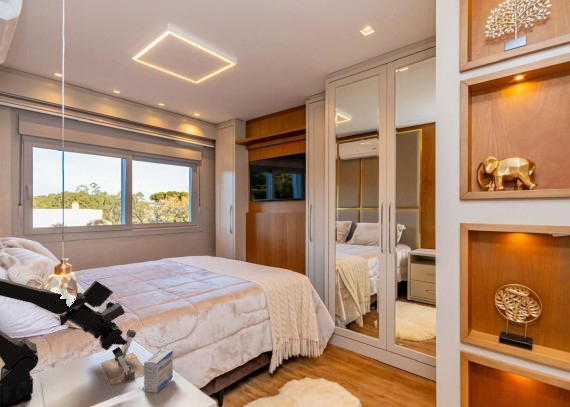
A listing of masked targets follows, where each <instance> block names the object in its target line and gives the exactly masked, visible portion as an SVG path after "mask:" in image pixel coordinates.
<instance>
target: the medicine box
mask: <svg viewBox="0 0 570 407" xmlns="http://www.w3.org/2000/svg"><path fill="white" fill-rule="evenodd" d="M173 355H174V354H173V350H168V349H160V350H158V351H157V352H156V353H155V354H153V355H152V356H151V357H150V358H148V359H147V360H146V361H144V362H143V366H144V376H143V392H148V393H156V394H158V393H159V392H160V391H161V390H162V389H163V388H164V387H165V386H166V385H167V384H168V383H169V382H170V381H171V380H173V370H174V368H173V364H174V362H173V360H174V359H173V358H174V357H173Z"/></svg>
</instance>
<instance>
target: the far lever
mask: <svg viewBox="0 0 570 407" xmlns="http://www.w3.org/2000/svg"><path fill="white" fill-rule="evenodd" d="M125 335H126V336H125V338H124V340H125V341H126V343H125V345H122V346H121V347H120V349H121V350H122V352H123V355H122V356H124V358H125V355H127V354H128V351H129V348H130V347H131V343H132V341H133V339H134V338H135V337H136V335H137V332H136V331H135V330H133V329H127V331H126V334H125Z"/></svg>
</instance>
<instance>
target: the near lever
mask: <svg viewBox="0 0 570 407" xmlns="http://www.w3.org/2000/svg"><path fill="white" fill-rule="evenodd" d="M111 352H112V354H113V356H114V358H115V357H116V359H117V358H118V360H119V362H120V364H121V366H122V368H123V370H124V372H125V374H126V375H127V377H128V373H129V372H131V371H130V369H129V367H128V365H127V364H126V362H125V360H124V358H123V356H122V355H123V352H122V350H121V347H120V346H117V347H115V348H114V349H113V350H111Z"/></svg>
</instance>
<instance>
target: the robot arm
mask: <svg viewBox="0 0 570 407" xmlns="http://www.w3.org/2000/svg"><path fill="white" fill-rule="evenodd" d="M76 293H77V297H76V300H75V299H74V300H75V301H74V303H73V302H72V303H73V304H72V305H71V306H70V307H69V306H67V304H66V300H67V299H60V297H61V296H62V295H61V294H58V293H54V292H51V291H49V290H47V288H46V289H45V288H44V289H43V288H38V287H34V286H31V285H27V284H23V283H19V282H15V281H12V280H9V279H4V278H0V297H5V298H7V299H8V298H9V299H13V300H18V301H21V302H25V303H31V304H34V305H36V306H38V307H40V308H42V309H43V310H45V311H48V312H50V313H53V314H55V315H58V317H59V325H60V326H62V327H63V326H64V325H65V324H66V323H67V322H70V323H72V324H74V325H75V326H77V327H79V328H80V329H82V331H83V332H84V333H88V334H90V335H92V336H93V337H94V339H96V340H98V339H99V341H98V342H99V346H100V347H101V349H103V350H105V351H108V350H110V349H111V347H112V346H113V345H116V346H117V345H119V346H121V345H125V343H126V341H125V338H124V337H123V336H122V335H123V330H122V329H121V328H120V327H119V326H118V325H117V324H116V322H114V320H115V319H117V318H119V317H121V316H123V315H125V313H126V312H125V309H124V307H123V306H122V304H121V303H120V302H117V301H116V302H115V303H114V302H112V301H109V302H107V303H106V304H105V309H104V310H103V311H99V310H97V311H96V310H95V309H92V308H98V307H101V306H102V305H103V304H104V303H105V302H106V301H107V300H108V299H109V298H110V297H111V296H112V294H114V291H112V290H111V289H110V288H109V287H108V286H106V285H104V284H102V283H100V282H99V281H98V280H95V281H93V282H92V283H91V285H90V286H89V287H88V288H87V289H86V290H85V291H84V292H83V293H82V292H76ZM86 304H87V305H86ZM88 305H89V306H90V307H89V306H88ZM91 307H92V308H91ZM0 359H1V360H2V363H4V365H2V366H1V368H0V407H13V406H16V405H19V404H21V403H24V402H26V401H30V400H31V399H32V394H33V393H34V379H33V375H31V371H32V370H34V369H35V368H36V366H38V364H39V353H38V348H37V343H34V342H32V341H30V340H29V339H28V338H27V336H24V337H23V338H22V339H21V340H19V339H15V338H13V337H11V336H9V335H8V334H6V333H5V332H4V331H3V330H1V329H0Z"/></svg>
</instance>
